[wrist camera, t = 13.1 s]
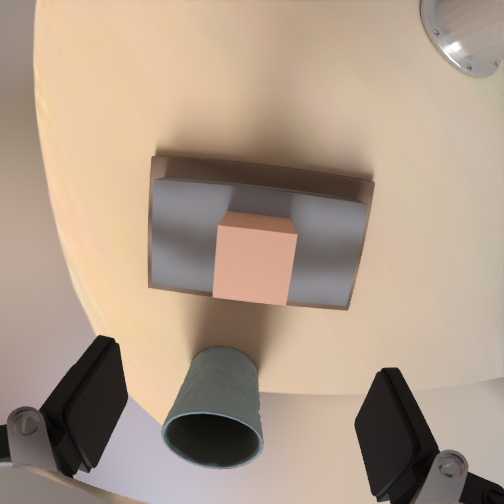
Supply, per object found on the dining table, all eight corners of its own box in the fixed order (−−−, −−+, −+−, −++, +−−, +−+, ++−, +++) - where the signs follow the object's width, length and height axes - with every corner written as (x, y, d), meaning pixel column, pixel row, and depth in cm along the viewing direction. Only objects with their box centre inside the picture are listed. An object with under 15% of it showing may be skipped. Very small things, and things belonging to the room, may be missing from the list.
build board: (154, 156, 29) (140, 156, 25) (371, 181, 29) (386, 185, 25) (151, 284, 33) (138, 299, 29) (345, 306, 33) (354, 324, 29)
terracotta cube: (226, 211, 26) (217, 225, 21) (290, 218, 26) (297, 234, 21) (221, 270, 28) (212, 297, 23) (281, 277, 28) (285, 305, 23)
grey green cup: (197, 400, 38) (181, 469, 27) (173, 343, 35) (144, 413, 24) (270, 394, 37) (271, 466, 26) (255, 333, 34) (252, 409, 23)
